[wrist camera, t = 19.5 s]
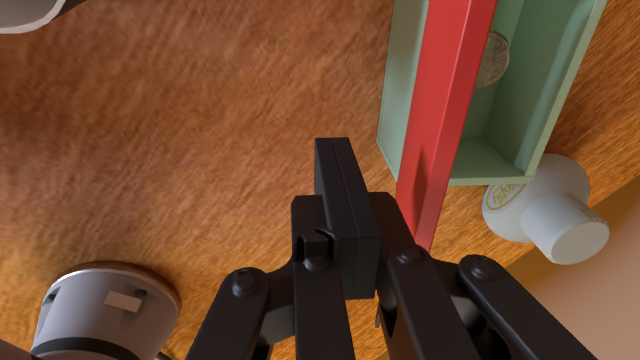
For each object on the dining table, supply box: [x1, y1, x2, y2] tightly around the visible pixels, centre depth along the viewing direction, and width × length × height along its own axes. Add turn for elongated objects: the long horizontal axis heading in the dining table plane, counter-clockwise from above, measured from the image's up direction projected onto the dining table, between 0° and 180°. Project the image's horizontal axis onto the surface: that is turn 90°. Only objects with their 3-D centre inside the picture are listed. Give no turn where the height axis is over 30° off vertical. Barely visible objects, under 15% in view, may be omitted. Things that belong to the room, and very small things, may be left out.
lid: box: [396, 0, 498, 253], centre depth 19 cm, size 12×16×1 cm
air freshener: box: [482, 153, 610, 265], centre depth 36 cm, size 11×8×10 cm
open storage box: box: [376, 0, 608, 186], centre depth 29 cm, size 12×16×8 cm
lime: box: [474, 28, 510, 88], centre depth 29 cm, size 4×5×5 cm
